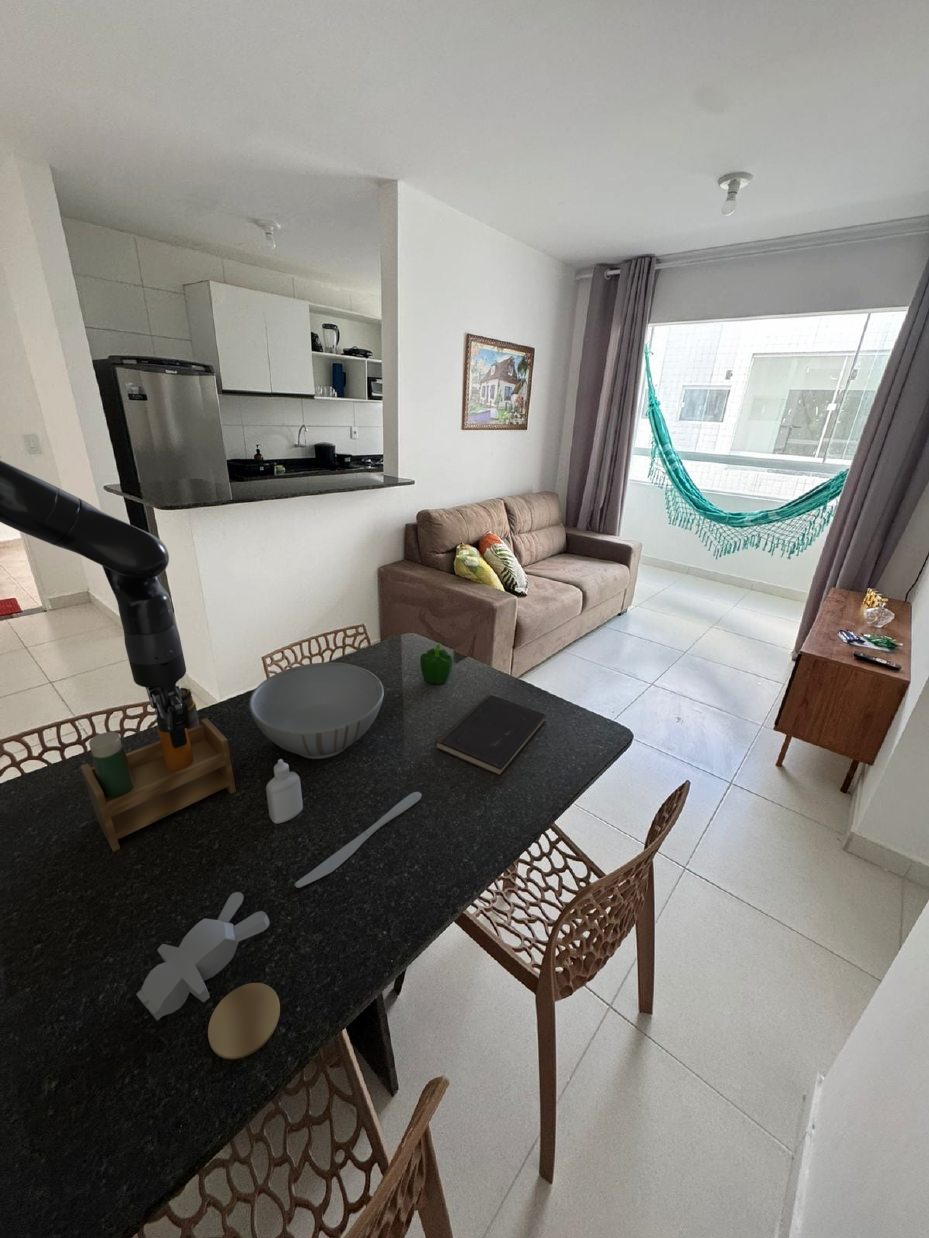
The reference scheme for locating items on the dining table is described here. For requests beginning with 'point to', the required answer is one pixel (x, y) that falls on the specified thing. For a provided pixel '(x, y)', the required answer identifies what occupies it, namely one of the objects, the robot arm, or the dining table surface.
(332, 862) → the butter knife
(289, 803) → the eye dropper bottle
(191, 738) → the spice rack
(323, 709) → the decorative bowl
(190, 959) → the bunny figurine
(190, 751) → the amber spice bottle
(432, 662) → the bell pepper
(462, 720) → the hardcover book
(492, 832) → the dining table surface
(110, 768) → the green spice bottle
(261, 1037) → the cork coaster
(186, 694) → the condiment
